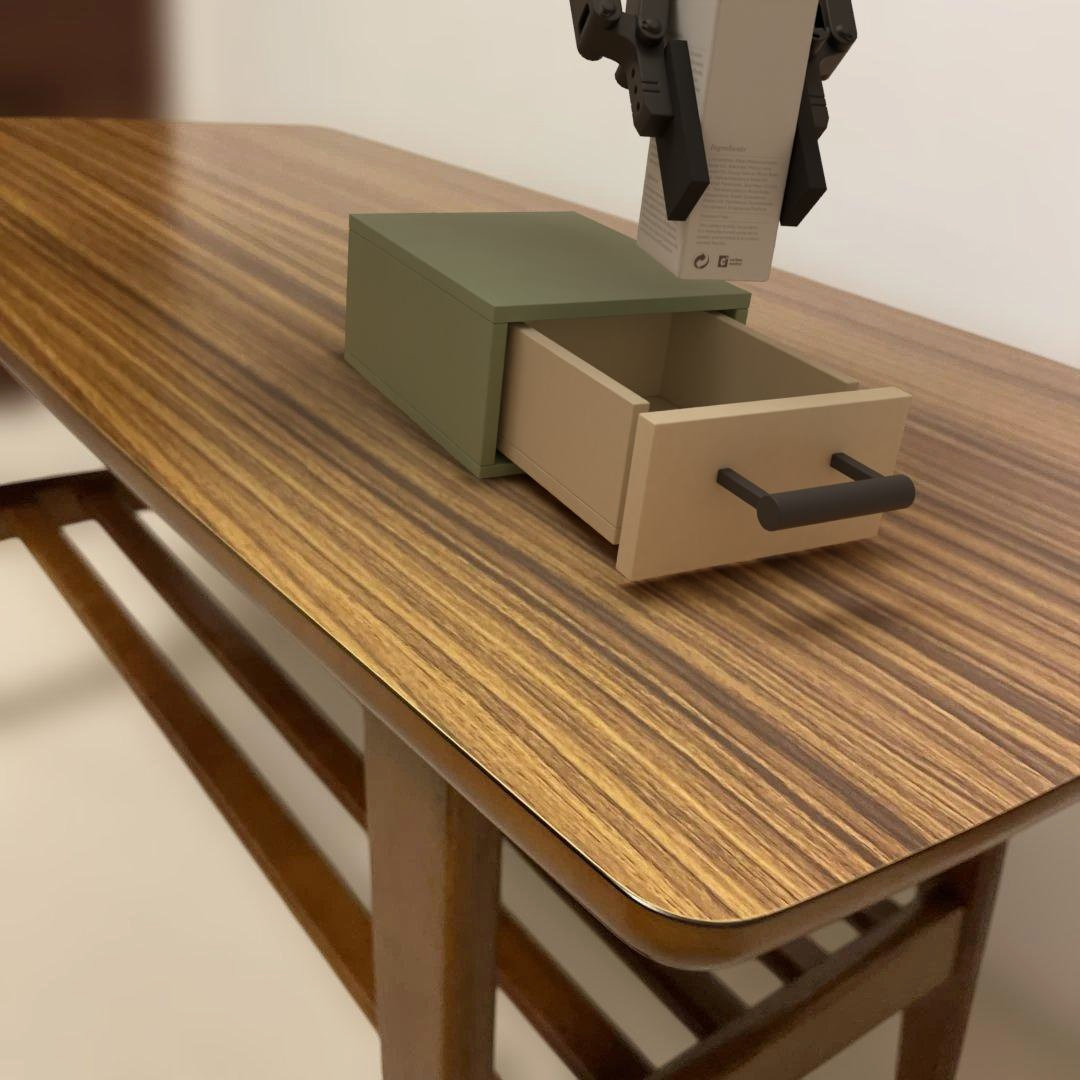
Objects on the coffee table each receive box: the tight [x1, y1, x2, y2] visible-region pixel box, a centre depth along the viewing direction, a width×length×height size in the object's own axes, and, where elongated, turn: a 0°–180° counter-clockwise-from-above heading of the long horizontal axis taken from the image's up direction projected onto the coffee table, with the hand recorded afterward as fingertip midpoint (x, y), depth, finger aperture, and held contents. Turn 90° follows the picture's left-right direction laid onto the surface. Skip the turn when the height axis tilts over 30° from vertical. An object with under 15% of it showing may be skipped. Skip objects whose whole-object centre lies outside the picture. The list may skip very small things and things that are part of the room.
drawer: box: [496, 310, 917, 582], centre depth 56 cm, size 21×13×7 cm, turn 29°
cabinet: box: [343, 210, 753, 480], centre depth 67 cm, size 18×15×9 cm
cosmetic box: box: [635, 0, 819, 283], centre depth 51 cm, size 6×4×12 cm
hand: (746, 204), depth 49 cm, fingers closed on cosmetic box, 4 cm apart
